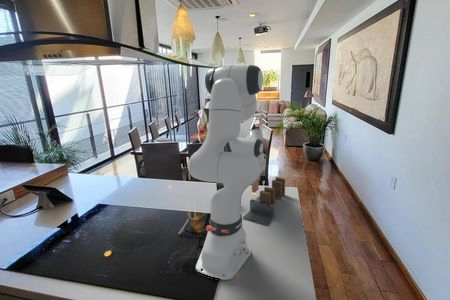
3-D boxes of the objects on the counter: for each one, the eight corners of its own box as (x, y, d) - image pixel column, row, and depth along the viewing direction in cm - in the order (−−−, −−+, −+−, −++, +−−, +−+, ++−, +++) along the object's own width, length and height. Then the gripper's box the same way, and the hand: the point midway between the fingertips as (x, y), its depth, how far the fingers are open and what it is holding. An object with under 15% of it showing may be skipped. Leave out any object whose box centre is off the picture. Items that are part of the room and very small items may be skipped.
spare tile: (258, 189, 135) (258, 172, 132) (254, 192, 131) (254, 175, 128) (256, 188, 136) (255, 172, 133) (252, 192, 132) (251, 175, 129)
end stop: (266, 225, 106) (266, 213, 104) (243, 218, 112) (242, 207, 111) (274, 216, 113) (274, 204, 111) (251, 210, 119) (251, 199, 118)
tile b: (280, 199, 128) (280, 182, 126) (271, 197, 131) (272, 180, 128) (281, 198, 130) (282, 181, 127) (273, 196, 132) (273, 179, 130)
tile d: (273, 208, 120) (273, 189, 118) (264, 205, 123) (264, 187, 120) (274, 206, 122) (274, 188, 119) (265, 204, 124) (265, 186, 122)
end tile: (283, 196, 132) (284, 179, 130) (275, 194, 135) (275, 177, 132) (284, 194, 134) (285, 178, 131) (276, 193, 136) (276, 176, 134)
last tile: (269, 212, 116) (269, 193, 114) (260, 210, 119) (259, 191, 117) (270, 211, 118) (270, 192, 115) (261, 208, 120) (261, 190, 118)
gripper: (251, 164, 119) (251, 190, 122) (268, 154, 135) (267, 177, 138) (240, 162, 122) (240, 187, 125) (257, 153, 138) (258, 175, 142)
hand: (255, 182), depth 132 cm, fingers closed on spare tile, 5 cm apart
